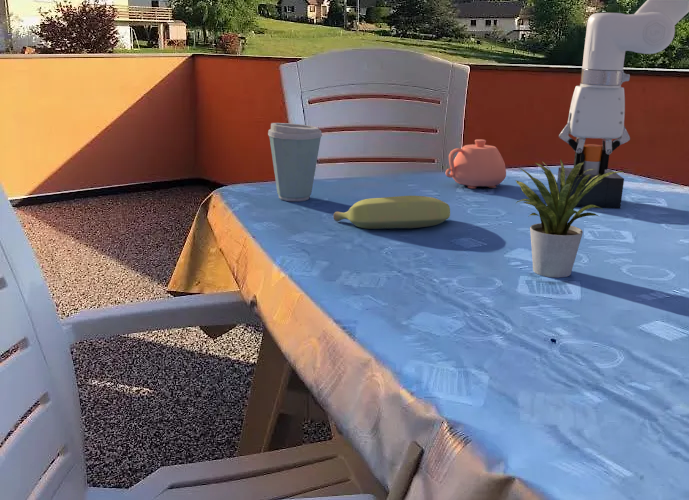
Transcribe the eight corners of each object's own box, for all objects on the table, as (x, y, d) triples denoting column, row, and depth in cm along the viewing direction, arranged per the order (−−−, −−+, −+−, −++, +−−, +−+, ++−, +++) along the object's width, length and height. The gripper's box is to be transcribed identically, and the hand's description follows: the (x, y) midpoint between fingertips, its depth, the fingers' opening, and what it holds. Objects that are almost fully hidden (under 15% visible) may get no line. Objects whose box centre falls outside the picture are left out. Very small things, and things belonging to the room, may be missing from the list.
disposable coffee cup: (302, 190, 150) (302, 119, 146) (332, 200, 142) (333, 124, 138) (258, 196, 144) (257, 122, 140) (288, 206, 136) (287, 128, 131)
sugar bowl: (515, 189, 156) (519, 142, 153) (456, 192, 152) (459, 144, 149) (489, 179, 167) (493, 135, 164) (434, 181, 163) (436, 136, 160)
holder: (607, 197, 149) (610, 169, 148) (620, 208, 139) (624, 178, 138) (555, 195, 150) (558, 167, 149) (565, 206, 140) (568, 176, 139)
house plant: (597, 258, 107) (610, 150, 102) (626, 288, 93) (643, 166, 89) (501, 254, 107) (510, 147, 103) (517, 284, 94) (528, 163, 90)
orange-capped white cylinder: (595, 183, 145) (600, 144, 143) (599, 186, 142) (604, 147, 140) (577, 182, 146) (581, 143, 143) (581, 186, 142) (585, 146, 140)
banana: (443, 191, 116) (325, 199, 120) (445, 225, 116) (326, 231, 120) (450, 196, 129) (343, 203, 133) (451, 227, 129) (344, 232, 133)
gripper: (639, 79, 141) (627, 171, 146) (554, 77, 142) (544, 168, 148) (651, 81, 134) (637, 177, 139) (561, 79, 135) (551, 174, 140)
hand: (589, 171), depth 143 cm, fingers closed on orange-capped white cylinder, 3 cm apart
